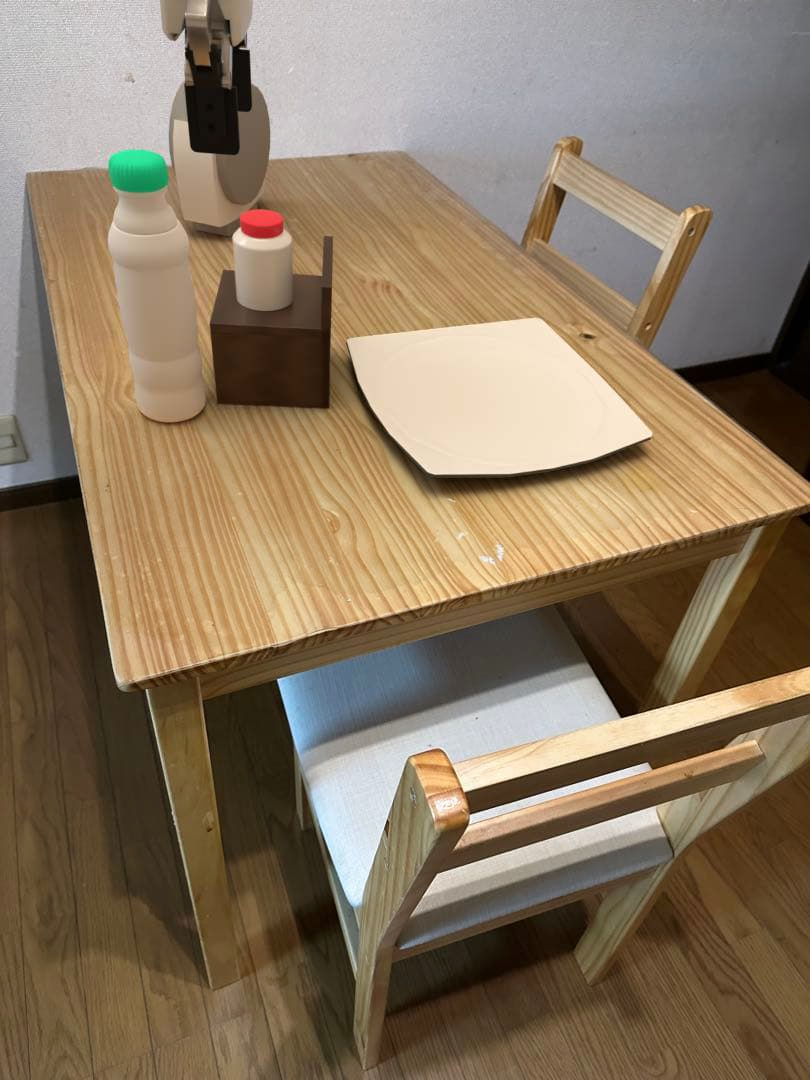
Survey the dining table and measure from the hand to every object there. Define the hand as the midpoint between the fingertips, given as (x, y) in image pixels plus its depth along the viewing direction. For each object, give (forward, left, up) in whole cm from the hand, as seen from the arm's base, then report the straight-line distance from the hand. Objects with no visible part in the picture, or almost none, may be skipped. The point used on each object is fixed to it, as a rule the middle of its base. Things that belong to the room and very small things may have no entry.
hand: (223, 129), depth 55 cm
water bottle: (-9, +9, -30) cm, 33 cm away
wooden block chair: (+2, +16, -30) cm, 34 cm away
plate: (+26, +12, -30) cm, 42 cm away
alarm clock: (-8, +59, -31) cm, 67 cm away
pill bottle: (+1, +16, -21) cm, 26 cm away
